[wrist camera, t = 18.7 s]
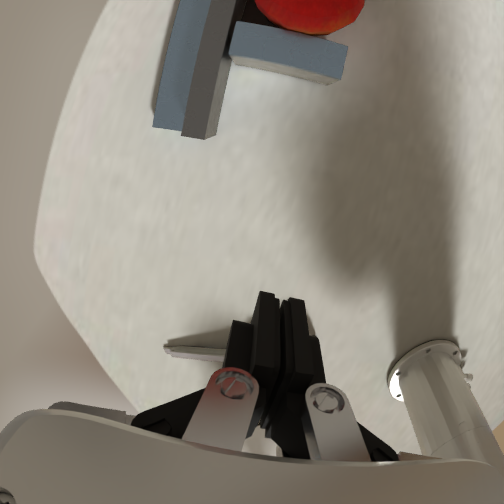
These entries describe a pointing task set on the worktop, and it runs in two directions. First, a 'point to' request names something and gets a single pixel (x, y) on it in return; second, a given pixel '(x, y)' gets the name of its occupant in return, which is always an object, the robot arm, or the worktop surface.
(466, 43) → the worktop surface
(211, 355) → the caliper
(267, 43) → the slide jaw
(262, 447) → the flower in vase
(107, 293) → the worktop surface
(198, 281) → the worktop surface
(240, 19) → the bracket
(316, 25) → the apple
